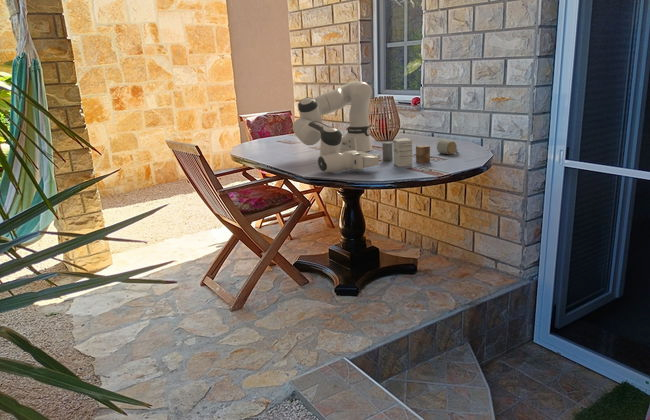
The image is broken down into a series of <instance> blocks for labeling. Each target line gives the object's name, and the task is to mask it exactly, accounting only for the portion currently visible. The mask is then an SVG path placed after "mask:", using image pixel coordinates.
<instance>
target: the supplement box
mask: <svg viewBox="0 0 650 420" xmlns="http://www.w3.org/2000/svg"><path fill="white" fill-rule="evenodd" d="M393 164H394V165H396V166H397V167H398V168H400V167H401V168H402V167H412V166H413V140H412V139H410V138H408V137H402V138H394V139H393Z"/></svg>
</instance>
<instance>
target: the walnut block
mask: <svg viewBox="0 0 650 420" xmlns="http://www.w3.org/2000/svg"><path fill="white" fill-rule="evenodd" d="M415 162H416V163H418V164H427V163H428V164H429V163H431V146H430V145H427V144H422V145H416V146H415Z"/></svg>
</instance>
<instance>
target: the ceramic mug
mask: <svg viewBox="0 0 650 420" xmlns="http://www.w3.org/2000/svg"><path fill="white" fill-rule="evenodd" d="M457 147H458V146H457V144H456V142H455V141H452V140H449V139H445V138H441V139H439V140H438V142H437V144H436V150H437V151H436V152H437V153H439V154H443V155H453V154H455V153H458V152H459V149H458V148H457Z"/></svg>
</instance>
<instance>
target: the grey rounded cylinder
mask: <svg viewBox="0 0 650 420" xmlns="http://www.w3.org/2000/svg"><path fill="white" fill-rule="evenodd" d="M382 161H383V162H392V161H394V154H393V142H390V141H387V142H382Z"/></svg>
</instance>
